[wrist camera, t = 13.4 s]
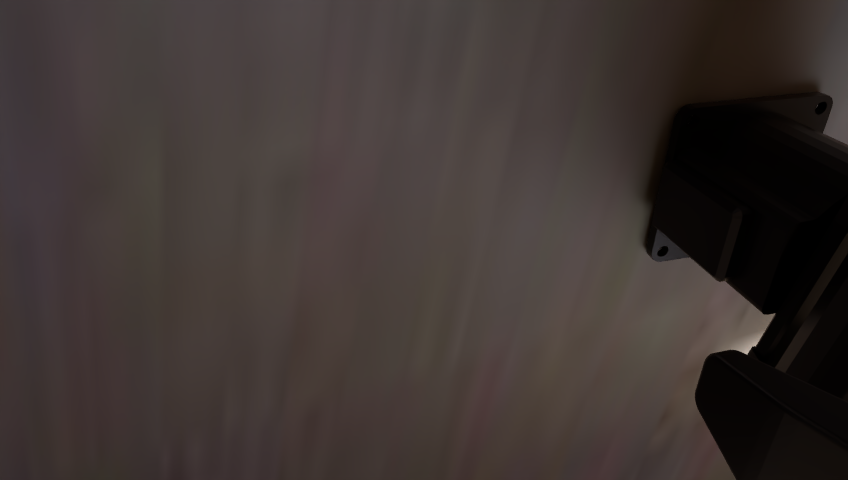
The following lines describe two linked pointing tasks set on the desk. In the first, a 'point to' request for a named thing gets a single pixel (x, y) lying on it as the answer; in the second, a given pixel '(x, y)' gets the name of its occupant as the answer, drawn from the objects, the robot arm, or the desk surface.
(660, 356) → the desk surface
